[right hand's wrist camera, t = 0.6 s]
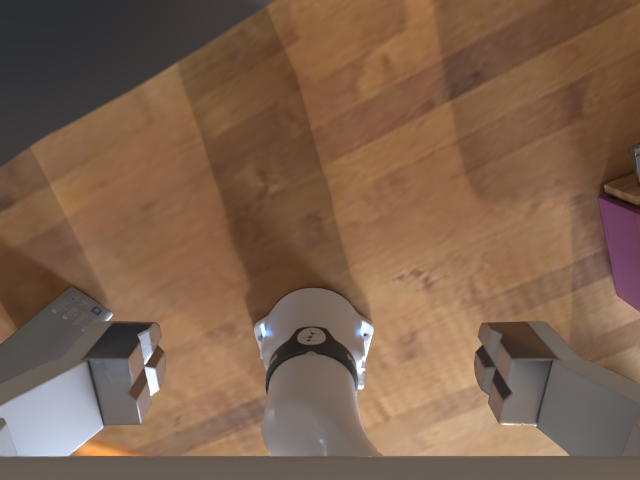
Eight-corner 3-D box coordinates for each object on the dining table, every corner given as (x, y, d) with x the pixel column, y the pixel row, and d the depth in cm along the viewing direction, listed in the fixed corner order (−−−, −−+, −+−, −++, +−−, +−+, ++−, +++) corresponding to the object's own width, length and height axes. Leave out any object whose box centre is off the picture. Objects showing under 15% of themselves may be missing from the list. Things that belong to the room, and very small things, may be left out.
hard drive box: (71, 283, 63) (-34, 369, 44) (115, 312, 64) (32, 406, 46) (24, 347, 67) (-90, 451, 48) (66, 372, 69) (-28, 481, 50)
